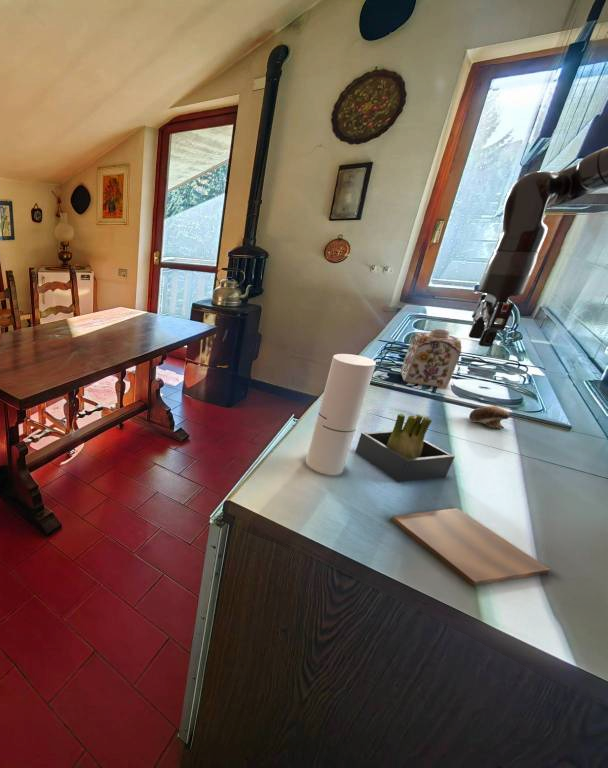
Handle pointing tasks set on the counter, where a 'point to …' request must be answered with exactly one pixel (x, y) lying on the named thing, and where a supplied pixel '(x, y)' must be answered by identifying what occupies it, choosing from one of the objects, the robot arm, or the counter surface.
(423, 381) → the decorative jar
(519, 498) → the counter surface
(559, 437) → the counter surface
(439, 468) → the bin
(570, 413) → the counter surface
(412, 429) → the fennel bulb
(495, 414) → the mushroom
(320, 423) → the cylindrical container
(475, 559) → the board
